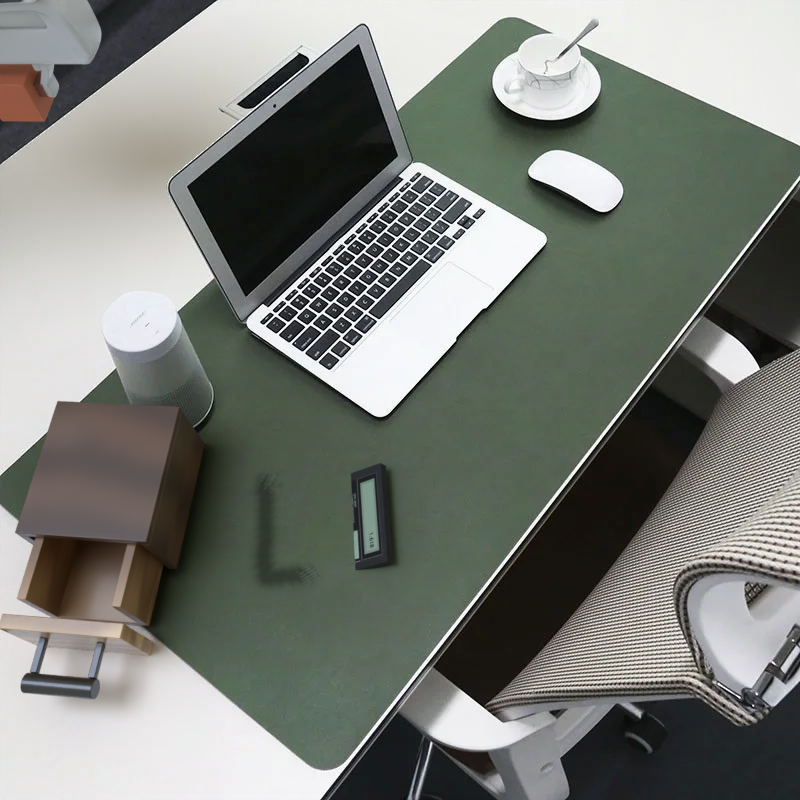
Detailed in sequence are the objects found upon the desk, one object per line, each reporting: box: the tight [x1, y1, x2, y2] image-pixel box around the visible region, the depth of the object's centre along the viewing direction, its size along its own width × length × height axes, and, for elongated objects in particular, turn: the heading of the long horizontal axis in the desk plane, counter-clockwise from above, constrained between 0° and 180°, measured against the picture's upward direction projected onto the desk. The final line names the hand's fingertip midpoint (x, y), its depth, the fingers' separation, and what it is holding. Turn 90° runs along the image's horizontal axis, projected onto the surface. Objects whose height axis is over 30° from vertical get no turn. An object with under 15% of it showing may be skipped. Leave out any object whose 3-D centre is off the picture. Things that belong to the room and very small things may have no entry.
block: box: [0, 64, 55, 123], centre depth 81 cm, size 4×4×4 cm
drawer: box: [0, 537, 165, 700], centre depth 72 cm, size 16×10×7 cm, turn 174°
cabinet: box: [14, 400, 205, 570], centre depth 76 cm, size 13×12×9 cm
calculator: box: [350, 462, 394, 571], centre depth 76 cm, size 9×12×3 cm
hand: (22, 92), depth 82 cm, fingers closed on block, 4 cm apart
